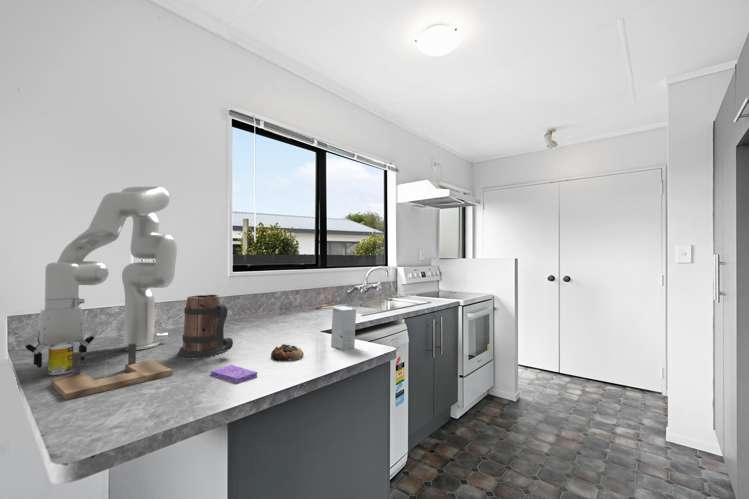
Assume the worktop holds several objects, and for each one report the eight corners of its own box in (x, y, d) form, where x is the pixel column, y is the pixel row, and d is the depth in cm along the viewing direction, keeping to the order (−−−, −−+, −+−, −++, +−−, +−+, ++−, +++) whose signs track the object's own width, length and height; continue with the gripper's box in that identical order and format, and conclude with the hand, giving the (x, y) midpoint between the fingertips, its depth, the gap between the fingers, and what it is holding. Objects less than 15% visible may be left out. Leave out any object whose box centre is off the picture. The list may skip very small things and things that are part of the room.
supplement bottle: (69, 374, 107) (70, 338, 107) (45, 377, 104) (45, 340, 104) (75, 368, 112) (76, 335, 112) (52, 371, 109) (52, 336, 109)
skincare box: (330, 345, 141) (331, 306, 141) (344, 343, 144) (344, 305, 145) (342, 350, 134) (342, 309, 134) (356, 348, 138) (356, 308, 138)
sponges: (236, 385, 99) (236, 378, 99) (210, 376, 107) (210, 369, 107) (258, 378, 105) (258, 371, 105) (231, 370, 112) (231, 364, 112)
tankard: (165, 354, 129) (166, 296, 129) (209, 344, 143) (210, 292, 143) (207, 364, 116) (207, 301, 117) (250, 352, 131) (250, 296, 131)
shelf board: (149, 363, 117) (150, 340, 117) (172, 374, 106) (172, 348, 106) (50, 384, 98) (50, 355, 98) (65, 399, 88) (66, 368, 88)
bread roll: (263, 359, 122) (265, 343, 123) (283, 355, 133) (285, 341, 133) (291, 364, 118) (293, 348, 119) (309, 360, 128) (311, 345, 129)
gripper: (94, 300, 117) (93, 354, 117) (19, 306, 104) (18, 367, 104) (101, 302, 112) (100, 359, 112) (23, 308, 99) (22, 372, 99)
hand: (60, 363), depth 108 cm, fingers open, 9 cm apart
